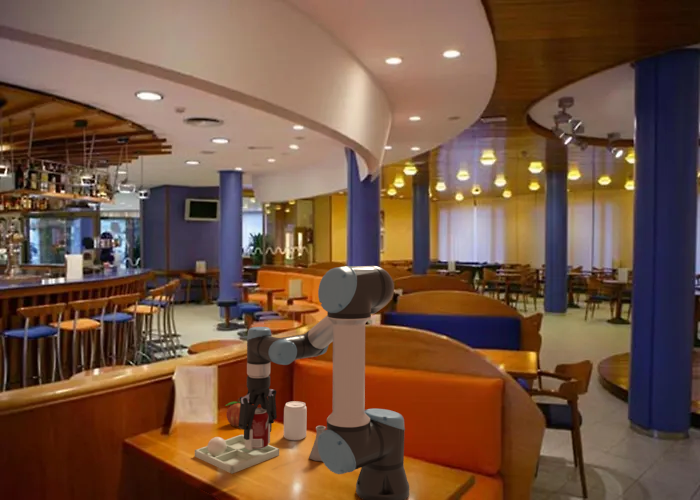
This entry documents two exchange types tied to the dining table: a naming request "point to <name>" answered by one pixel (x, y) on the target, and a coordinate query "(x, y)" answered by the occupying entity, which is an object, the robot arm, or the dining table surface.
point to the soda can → (260, 429)
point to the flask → (316, 445)
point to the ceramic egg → (216, 446)
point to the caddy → (237, 455)
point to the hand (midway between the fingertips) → (257, 445)
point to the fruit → (233, 413)
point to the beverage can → (295, 420)
